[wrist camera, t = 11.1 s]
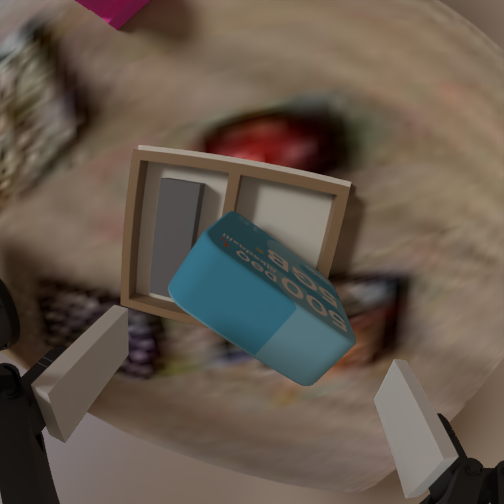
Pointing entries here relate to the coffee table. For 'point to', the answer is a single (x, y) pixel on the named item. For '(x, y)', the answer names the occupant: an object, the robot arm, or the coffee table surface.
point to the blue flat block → (263, 300)
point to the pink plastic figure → (114, 9)
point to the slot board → (222, 201)
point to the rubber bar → (174, 229)
